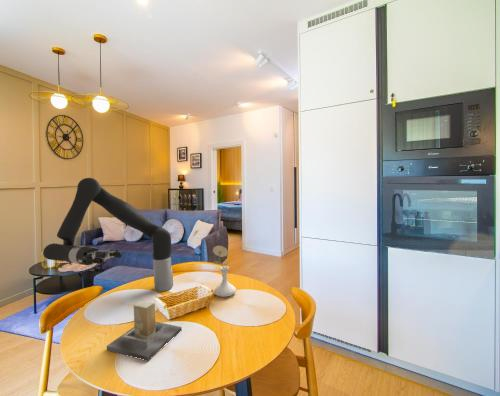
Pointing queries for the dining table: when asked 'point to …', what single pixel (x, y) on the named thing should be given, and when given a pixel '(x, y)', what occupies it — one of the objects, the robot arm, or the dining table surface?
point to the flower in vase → (223, 274)
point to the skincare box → (144, 319)
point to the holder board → (144, 342)
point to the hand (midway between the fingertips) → (112, 257)
